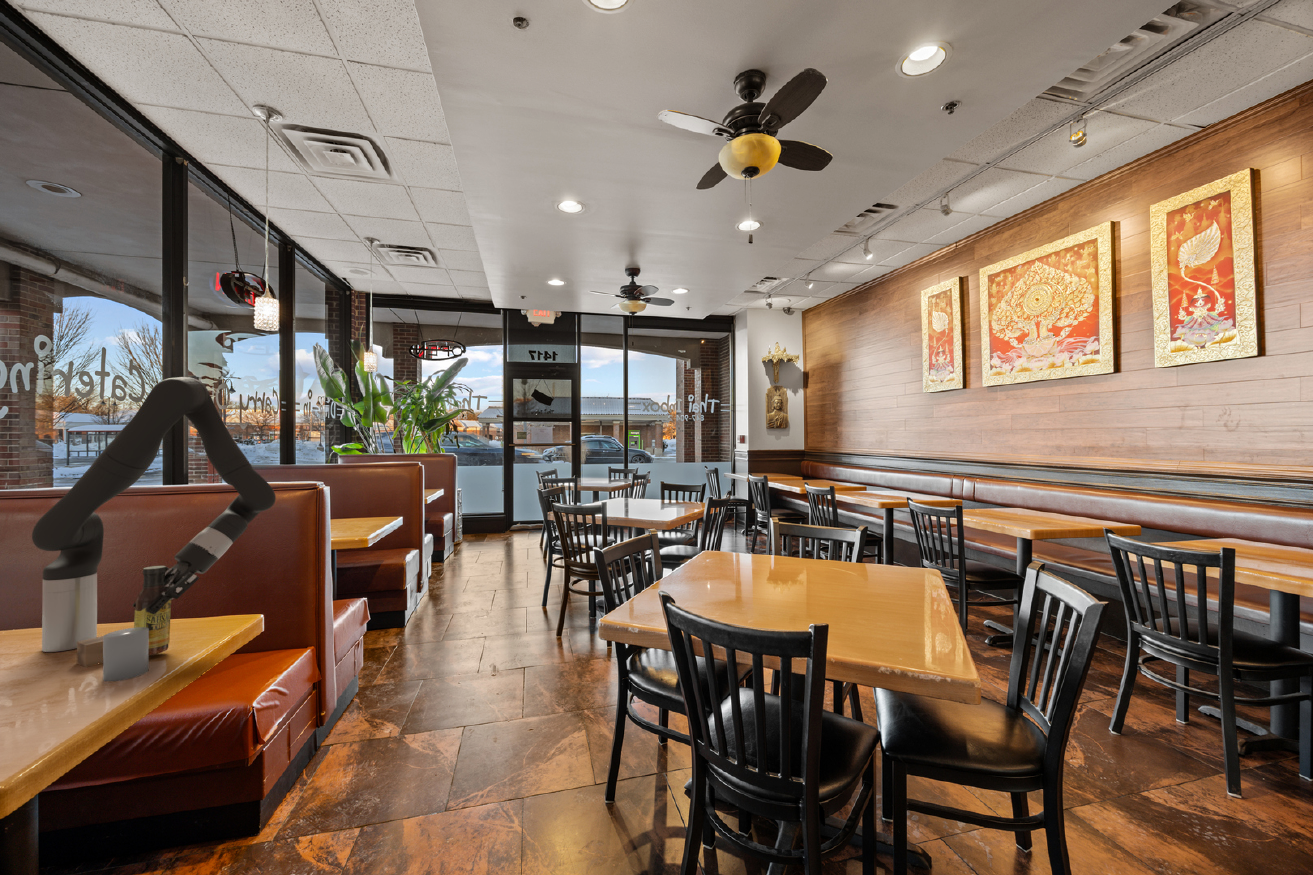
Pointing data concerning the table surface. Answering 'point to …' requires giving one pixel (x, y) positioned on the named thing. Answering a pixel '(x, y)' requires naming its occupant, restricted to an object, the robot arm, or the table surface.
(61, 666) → the table surface
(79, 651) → the walnut block
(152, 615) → the sauce bottle
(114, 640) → the grey rounded cylinder
